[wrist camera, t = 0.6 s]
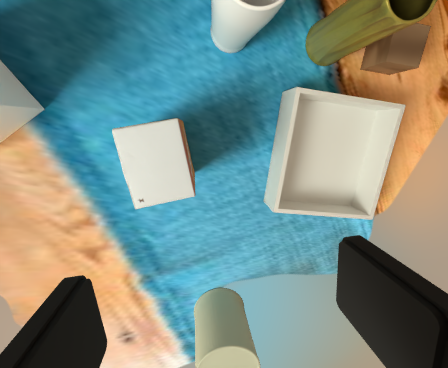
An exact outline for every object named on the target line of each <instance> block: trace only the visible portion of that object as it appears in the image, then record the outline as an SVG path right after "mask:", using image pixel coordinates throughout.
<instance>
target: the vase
mask: <svg viewBox="0 0 448 368" xmlns="http://www.w3.org/2000/svg"><path fill="white" fill-rule="evenodd" d="M436 1H437V0H347V1H346V2H345V3H343V4H342V5H341V6H339V7H338V8H337V9H335V10H334V11H333V12H332V13H331V14H329V15H328V16H327V17H326V18H324V19H321V20H319V21H318V22H316V23H315V24H314V25H313V26H312V27H311V28H310V30H309V32H308V35H307V38H306V50H307V54H308V56H309V58H310V59H311V60H312V61H313V62H314V63H315V64H317V65H320V66H328V65H331V64H333V63H335V62H337V61H338V60H339V59H341V58H343V57H345V56H347V55H349V54H351V53H353V52H356V51H358V50H360V49H362V48H364V47H366V46H368V45H370V44H372V43H374V42H376V41H378V40H380V39H383V38H385V37H387V36H389V35H391V34H394V33H396V32H398V31H400V30H402V29H404V28H406V27H409V26H411V25H413V24H415V23H417V22H419V21H420V20H422V19H423V18H424V17H426V16H427V15H428V14H429V13H430V12H431V10H432V9H433V7H434V5H435V3H436Z"/></svg>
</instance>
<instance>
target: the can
mask: <svg viewBox="0 0 448 368" xmlns="http://www.w3.org/2000/svg"><path fill="white" fill-rule="evenodd" d="M194 316H195V368H260V362H259V359H258V356H257V354H256V350H255V347H254V343H253V340H252V336H251V333H250V329H249V325H248V322H247V318H246V314H245V311H244V303H243V300H242V298H241V297H240V296H239V294H237V293H236V292H235V291H233V290H231V289H227V288H216V289H212V290H210V291H208V292H206V293H204V294H203V295H202V296H201V297H200V298H199V299H198V300H197V302H196V304H195V307H194Z"/></svg>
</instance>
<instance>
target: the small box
mask: <svg viewBox="0 0 448 368" xmlns="http://www.w3.org/2000/svg"><path fill="white" fill-rule="evenodd" d="M112 133H113V137H114V140H115V144H116V148H117V151H118V154H119V158H120V162H121V166H122V170H123V173H124V176H125V180H126V182H127V185H128V188H129V191H130V194H131V197H132V200H133V203H134V207H135V209H139V208H144V207H148V206H152V205H157V204H161V203H166V202H171V201H175V200H180V199H185V198H189V197H194V196H195V172H194V168H193V164H192V160H191V156H190V151H189V147H188V142H187V137H186V133H185V128H184V123H183V121H182V120H180V119H178V118H175V119H168V120H162V121H156V122H150V123H144V124H138V125H132V126H126V127H120V128H115V129H113V130H112Z"/></svg>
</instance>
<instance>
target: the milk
mask: <svg viewBox="0 0 448 368" xmlns="http://www.w3.org/2000/svg"><path fill="white" fill-rule="evenodd" d="M43 110H44V108H43V107H42V106H41V105H40V104H39V102H38V101H37V100H36V99H35V98H34V97H33V96H32V95H31V94H30V93H29V91H28V90H27V89H26V88H25V87H24V86H23V85H22V84H21V83H20V81H19V80H18V79H17V78H16V77H15V76H14V75H13V74H12V73H11V71H10V70H9V69H8V68H7V67H6V66H5V65H4V64H3V63H2V62H1V60H0V143H1V142H2V141H4V140H5V139H6V138H8V137H9V136H10V135H12V134H13V133H14V132H15V131H17V130H18V129H19V128H21V127H22V126H23V125H25V124H26V123H27V122H29V121H30V120H31V119H32V118H34V117H35V116H36V115H38V114H39V113H40V112H42V111H43Z"/></svg>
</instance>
